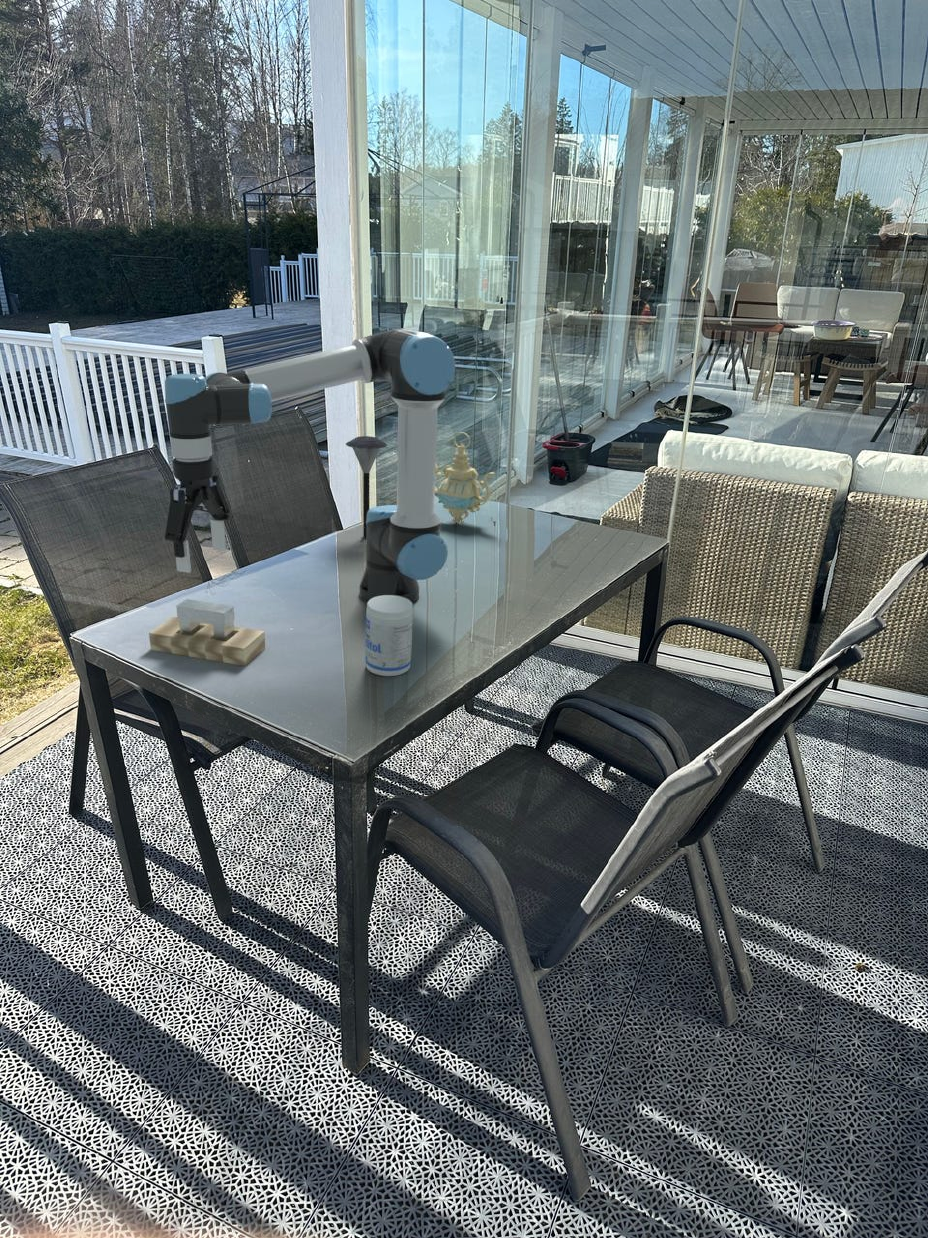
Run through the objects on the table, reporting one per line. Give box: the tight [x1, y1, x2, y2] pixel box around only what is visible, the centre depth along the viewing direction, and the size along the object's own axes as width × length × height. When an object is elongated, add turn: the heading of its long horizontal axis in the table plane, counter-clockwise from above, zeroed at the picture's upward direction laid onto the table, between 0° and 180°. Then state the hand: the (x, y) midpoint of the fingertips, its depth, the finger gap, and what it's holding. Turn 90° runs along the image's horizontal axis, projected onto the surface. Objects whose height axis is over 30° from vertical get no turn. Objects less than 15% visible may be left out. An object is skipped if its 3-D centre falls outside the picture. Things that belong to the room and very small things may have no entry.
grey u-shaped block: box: [175, 598, 235, 641], centre depth 174 cm, size 11×4×10 cm, turn 76°
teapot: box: [435, 431, 496, 525], centre depth 260 cm, size 24×12×30 cm, turn 60°
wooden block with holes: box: [148, 616, 266, 667], centre depth 175 cm, size 22×9×4 cm, turn 76°
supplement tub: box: [364, 595, 414, 677], centre depth 169 cm, size 10×10×15 cm
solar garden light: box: [345, 435, 388, 538], centre depth 244 cm, size 12×12×30 cm
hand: (202, 560), depth 168 cm, fingers open, 13 cm apart
